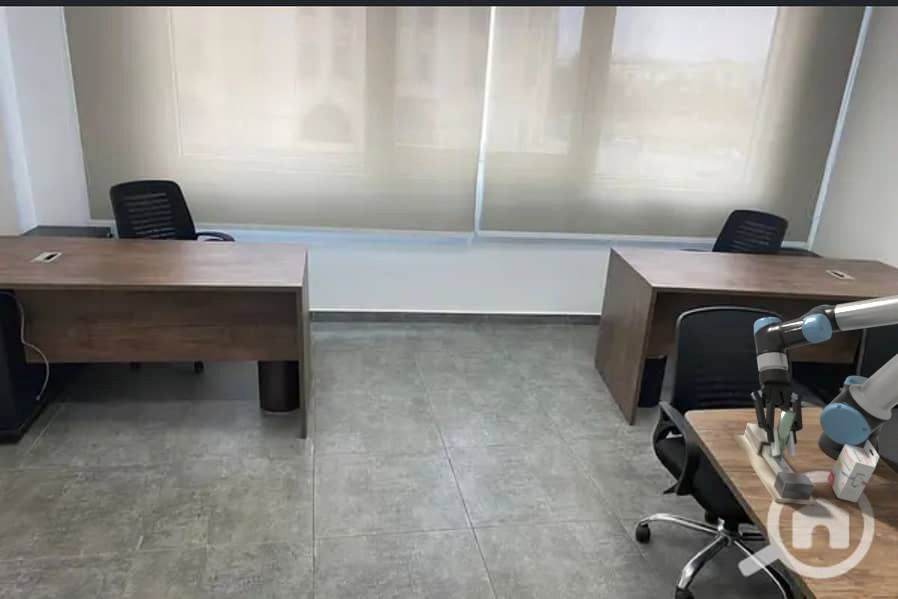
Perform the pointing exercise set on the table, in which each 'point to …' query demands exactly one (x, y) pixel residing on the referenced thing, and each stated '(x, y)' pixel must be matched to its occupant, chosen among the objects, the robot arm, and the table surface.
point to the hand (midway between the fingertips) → (784, 455)
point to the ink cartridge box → (853, 471)
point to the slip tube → (783, 433)
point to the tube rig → (779, 485)
